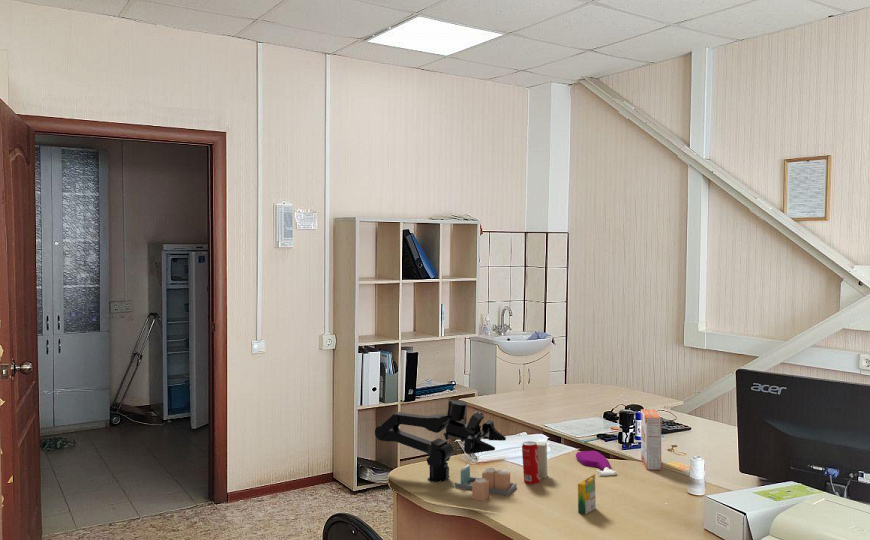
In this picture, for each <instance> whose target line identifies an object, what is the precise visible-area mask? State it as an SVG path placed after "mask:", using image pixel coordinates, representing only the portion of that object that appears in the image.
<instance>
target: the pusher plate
mask: <svg viewBox="0 0 870 540" xmlns="http://www.w3.org/2000/svg"><path fill="white" fill-rule="evenodd" d="M470 477H471V465H470V464H469V463H468V464H466V465H465V466H463V467H462V468H461V469H460V483H462V484H465V483H466V482H468V481H469V480H470Z"/></svg>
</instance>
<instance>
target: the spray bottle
mask: <svg viewBox="0 0 870 540" xmlns="http://www.w3.org/2000/svg"><path fill="white" fill-rule="evenodd" d="M575 458H576V459H577V461H578V462H579V463H580V464H581V465H583V466H585V467H591V468H598V469H599V470H598V469H595V471H596V472H597V473H598V477H599V476H600V477H606V476H607V477H609V476H616V475H617V471H616V470H612V467H611V464H610V461H609V460H608V458H607V457H605V456H604V455H603V454H602V453H600V452H599V451H597V450H583V451H581V450H580V451H577V452H576V453H575Z"/></svg>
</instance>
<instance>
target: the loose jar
mask: <svg viewBox="0 0 870 540" xmlns="http://www.w3.org/2000/svg"><path fill="white" fill-rule="evenodd" d="M476 478H477V479H475V481H474V482H473V483H472V490H471V493H472V494H471V497H472V500H478V501H486V500H487V499H488V498H489V496H490V493H489V481H486V479H484V478H482V477H476Z"/></svg>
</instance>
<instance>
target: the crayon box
mask: <svg viewBox="0 0 870 540" xmlns="http://www.w3.org/2000/svg"><path fill="white" fill-rule="evenodd" d="M577 500H578V501H577V511H578V514H581V515H584V516H585V515H587V514H589V513H590V512H592V511H593V510H595V509H596V508H597V507H596V506H597V505H596V474H595V473H594V474H593V475H591V476H589V477H587V478H586V479H584V480H582V481H579V483H577Z"/></svg>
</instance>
